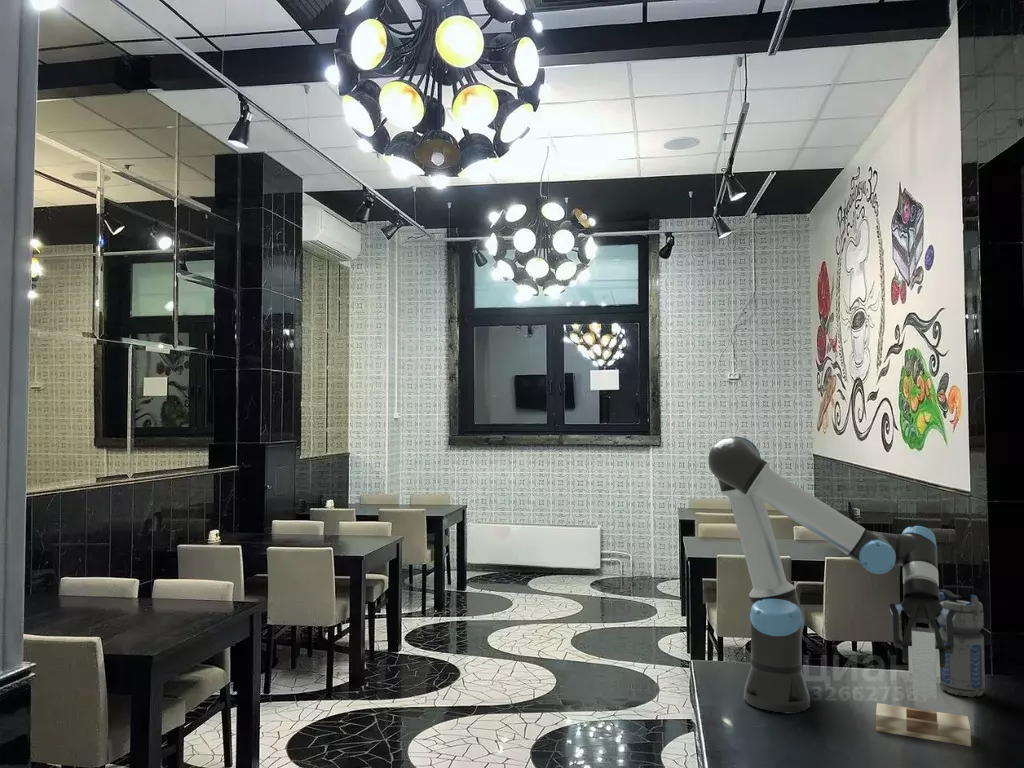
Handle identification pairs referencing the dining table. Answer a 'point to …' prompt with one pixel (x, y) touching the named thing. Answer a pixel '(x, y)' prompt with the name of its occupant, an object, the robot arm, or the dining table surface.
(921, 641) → the white square post
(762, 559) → the robot arm
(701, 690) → the dining table surface
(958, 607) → the beverage bottle
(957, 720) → the foot beam
